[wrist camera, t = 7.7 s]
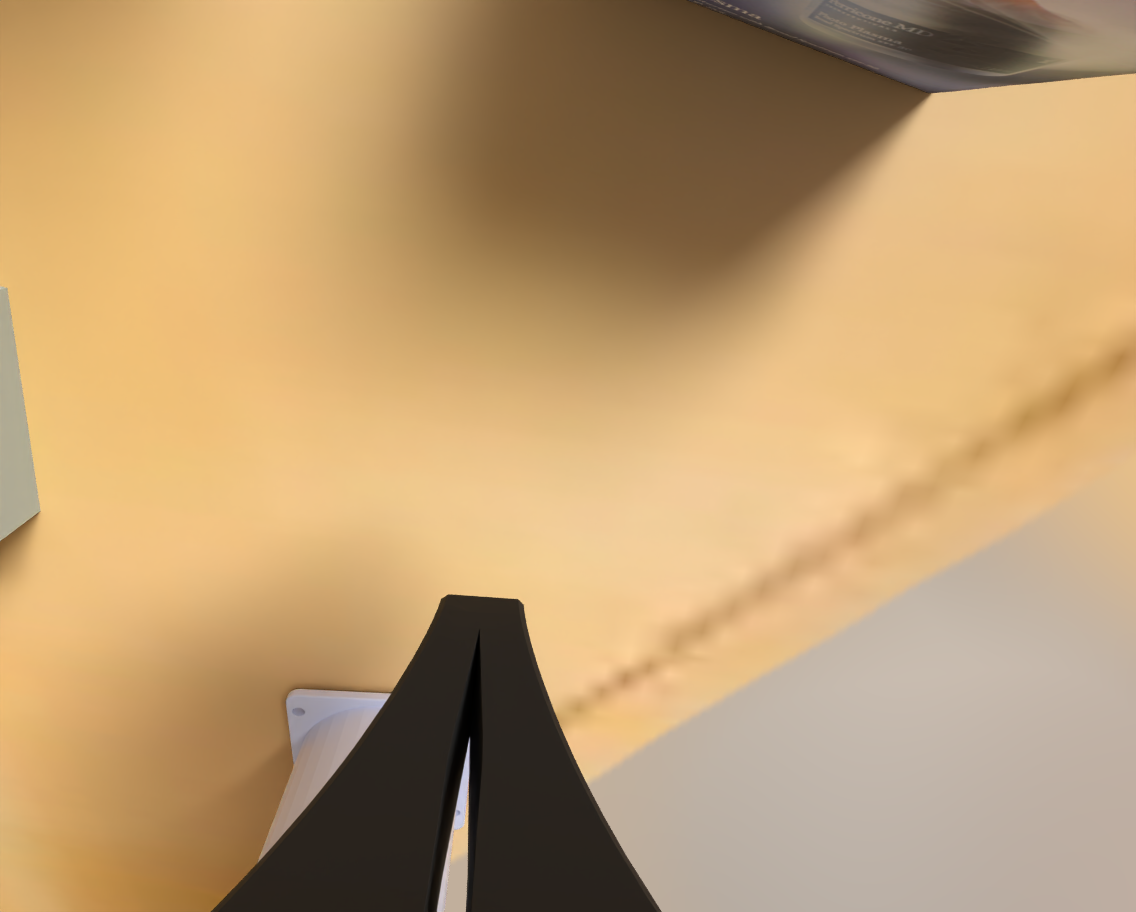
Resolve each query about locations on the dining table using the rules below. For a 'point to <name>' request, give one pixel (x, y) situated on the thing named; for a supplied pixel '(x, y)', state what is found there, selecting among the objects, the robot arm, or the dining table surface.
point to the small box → (956, 37)
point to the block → (13, 435)
